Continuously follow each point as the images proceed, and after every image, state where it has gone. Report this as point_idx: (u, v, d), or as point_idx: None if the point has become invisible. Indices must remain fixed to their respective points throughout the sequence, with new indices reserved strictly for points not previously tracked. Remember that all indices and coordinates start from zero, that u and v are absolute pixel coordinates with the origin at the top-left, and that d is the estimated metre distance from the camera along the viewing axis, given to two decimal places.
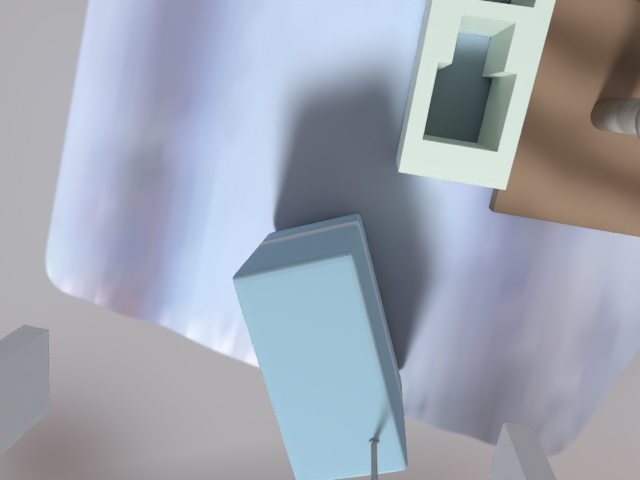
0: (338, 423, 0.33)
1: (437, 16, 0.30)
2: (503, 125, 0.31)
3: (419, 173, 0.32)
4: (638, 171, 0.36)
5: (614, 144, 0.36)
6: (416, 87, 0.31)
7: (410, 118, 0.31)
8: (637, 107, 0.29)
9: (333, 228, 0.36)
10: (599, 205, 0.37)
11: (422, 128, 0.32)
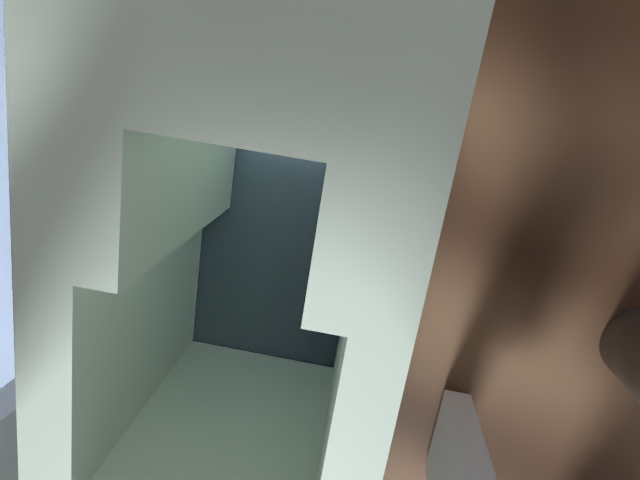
0: None
1: None
2: None
3: None
4: None
5: None
6: None
7: None
8: None
9: None
10: None
11: None
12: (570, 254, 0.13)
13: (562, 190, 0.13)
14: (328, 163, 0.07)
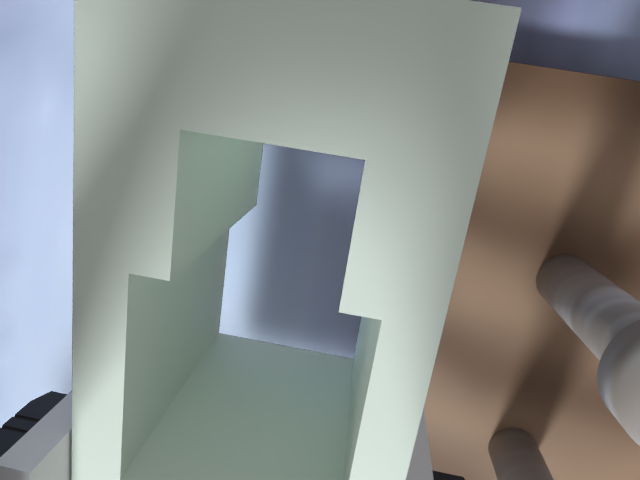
0: None
1: None
2: None
3: None
4: None
5: None
6: None
7: None
8: None
9: None
10: None
11: None
12: (515, 222, 0.21)
13: (508, 181, 0.20)
14: (366, 160, 0.08)
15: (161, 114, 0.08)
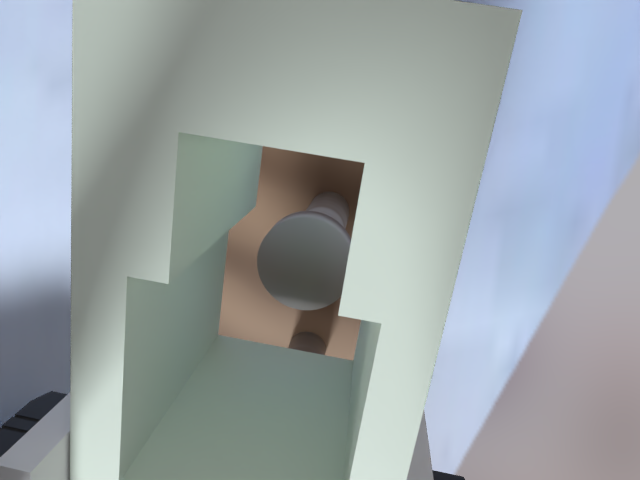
0: None
1: None
2: None
3: None
4: None
5: None
6: None
7: None
8: None
9: None
10: None
11: None
12: (288, 166, 0.27)
13: None
14: (366, 162, 0.08)
15: (160, 116, 0.08)
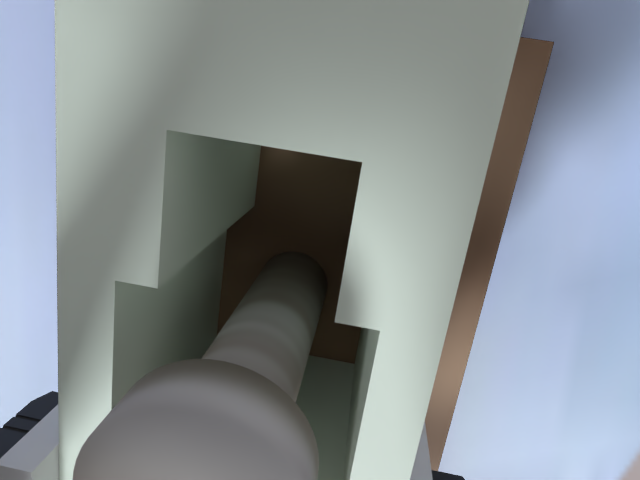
0: None
1: None
2: None
3: None
4: None
5: None
6: None
7: None
8: None
9: None
10: None
11: None
12: None
13: None
14: (363, 161, 0.08)
15: (147, 113, 0.08)
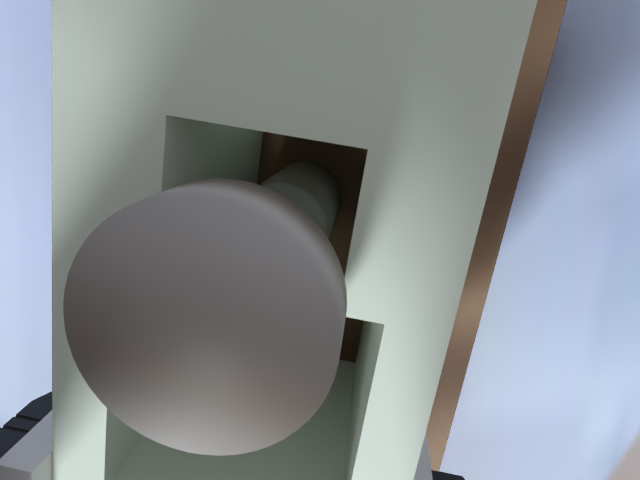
0: None
1: None
2: None
3: None
4: None
5: None
6: None
7: None
8: None
9: None
10: None
11: None
12: None
13: None
14: (369, 149, 0.08)
15: (146, 98, 0.08)
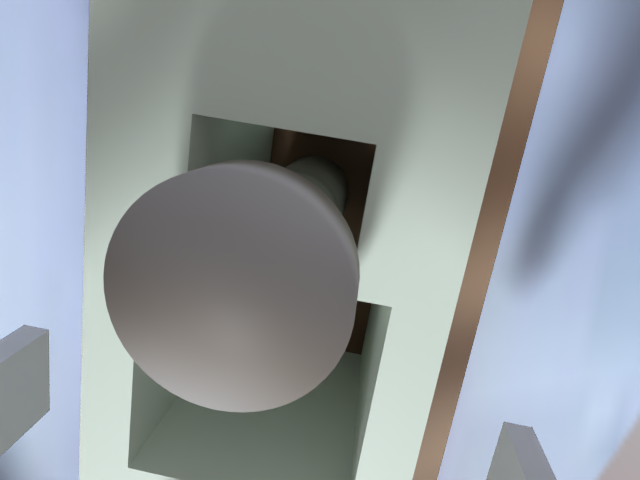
0: None
1: None
2: None
3: None
4: None
5: None
6: None
7: None
8: None
9: None
10: None
11: None
12: None
13: None
14: (377, 144, 0.08)
15: (173, 98, 0.08)
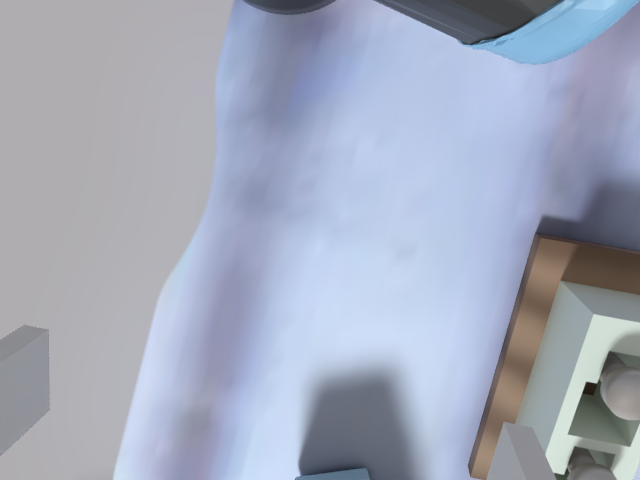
0: None
1: (554, 445, 0.39)
2: None
3: None
4: None
5: None
6: None
7: None
8: (570, 459, 0.40)
9: None
10: None
11: None
12: None
13: None
14: None
15: (605, 347, 0.36)
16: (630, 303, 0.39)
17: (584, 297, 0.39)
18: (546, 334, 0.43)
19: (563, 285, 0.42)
